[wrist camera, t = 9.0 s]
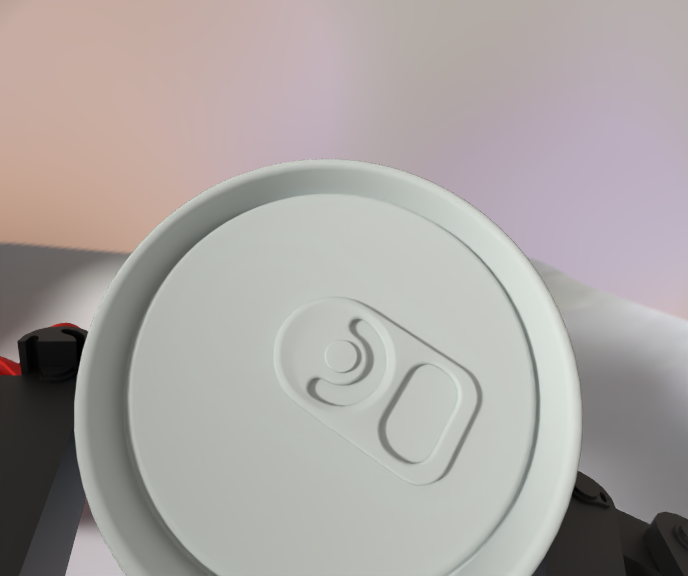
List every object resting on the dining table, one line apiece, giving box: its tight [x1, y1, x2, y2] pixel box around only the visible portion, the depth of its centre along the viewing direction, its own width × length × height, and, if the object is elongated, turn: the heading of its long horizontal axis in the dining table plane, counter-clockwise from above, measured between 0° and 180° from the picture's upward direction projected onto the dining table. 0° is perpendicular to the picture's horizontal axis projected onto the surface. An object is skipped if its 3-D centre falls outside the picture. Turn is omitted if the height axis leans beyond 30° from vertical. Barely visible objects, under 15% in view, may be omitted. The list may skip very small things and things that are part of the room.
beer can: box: [74, 159, 583, 576], centre depth 12 cm, size 8×8×16 cm
